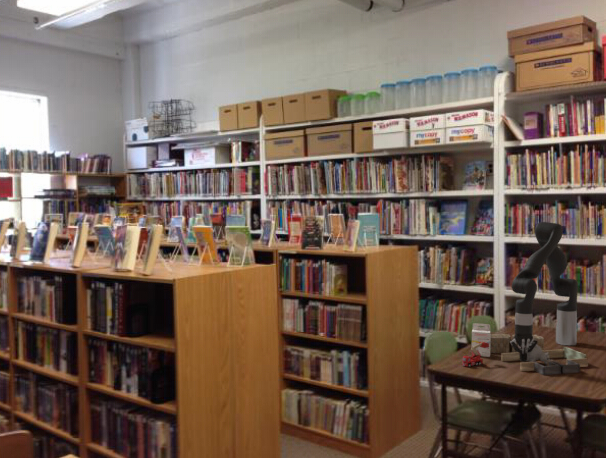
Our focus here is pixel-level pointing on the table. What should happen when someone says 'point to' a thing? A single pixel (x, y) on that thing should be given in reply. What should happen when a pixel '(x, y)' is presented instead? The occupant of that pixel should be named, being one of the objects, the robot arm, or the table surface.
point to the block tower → (502, 345)
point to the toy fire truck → (476, 357)
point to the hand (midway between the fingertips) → (523, 361)
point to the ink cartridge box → (481, 338)
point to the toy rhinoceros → (537, 355)
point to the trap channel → (552, 362)
